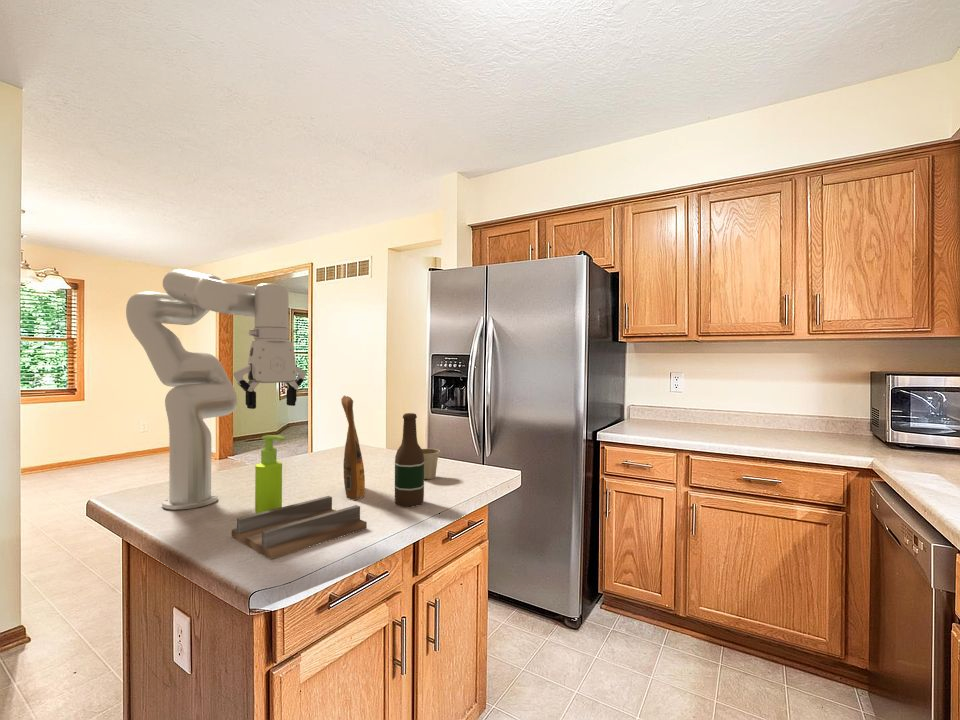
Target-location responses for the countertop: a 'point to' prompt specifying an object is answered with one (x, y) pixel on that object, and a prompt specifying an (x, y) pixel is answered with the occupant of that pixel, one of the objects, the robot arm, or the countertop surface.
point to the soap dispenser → (268, 477)
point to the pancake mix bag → (352, 456)
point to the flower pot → (430, 462)
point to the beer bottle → (409, 467)
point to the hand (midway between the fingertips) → (271, 406)
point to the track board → (296, 526)
